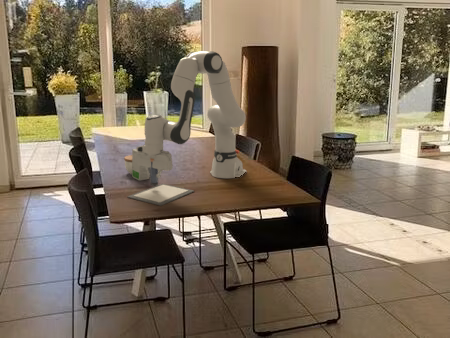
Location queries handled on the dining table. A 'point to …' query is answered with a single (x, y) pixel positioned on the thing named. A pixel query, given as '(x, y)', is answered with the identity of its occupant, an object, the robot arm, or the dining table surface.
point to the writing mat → (160, 194)
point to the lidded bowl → (128, 163)
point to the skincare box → (138, 168)
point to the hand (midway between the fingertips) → (154, 176)
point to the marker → (153, 174)
